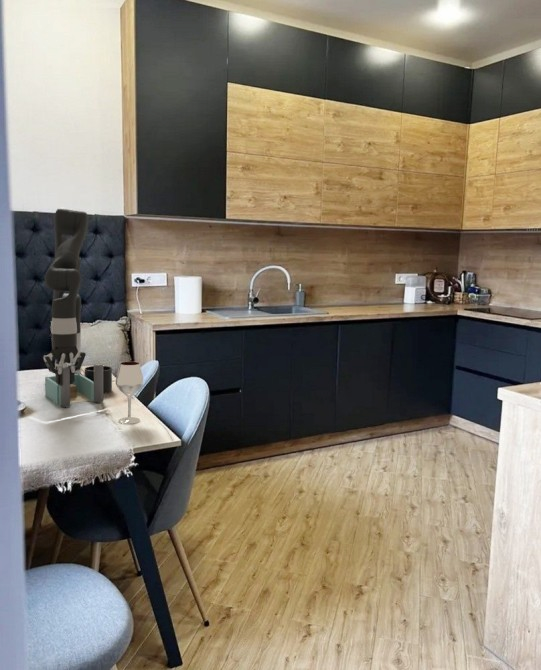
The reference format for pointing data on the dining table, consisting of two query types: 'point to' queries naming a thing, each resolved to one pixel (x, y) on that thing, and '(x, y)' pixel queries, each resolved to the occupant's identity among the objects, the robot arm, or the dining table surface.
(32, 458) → the dining table surface
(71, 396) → the walnut block
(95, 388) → the flap far
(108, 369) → the mug
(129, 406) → the wineglass
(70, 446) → the dining table surface
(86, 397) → the teal open box
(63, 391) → the flap near
